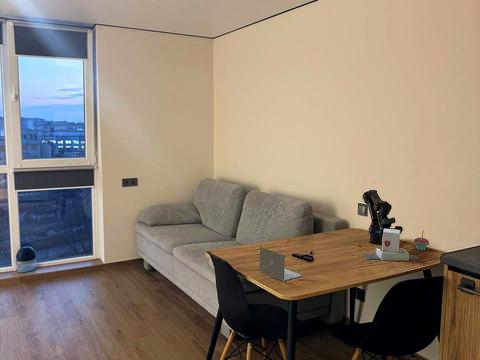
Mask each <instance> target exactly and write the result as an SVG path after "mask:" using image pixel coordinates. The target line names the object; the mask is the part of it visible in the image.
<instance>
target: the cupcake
mask: <svg viewBox="0 0 480 360" xmlns="http://www.w3.org/2000/svg"><path fill="white" fill-rule="evenodd" d="M413 243H414V244H415V248H416V249H417V250H419V251H425V250H426V248H427V246H429V244H430V241H429V240H428V239H427V238H425V237H424V230H422V231H421V237H416V238H415V239H414V240H413Z"/></svg>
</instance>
